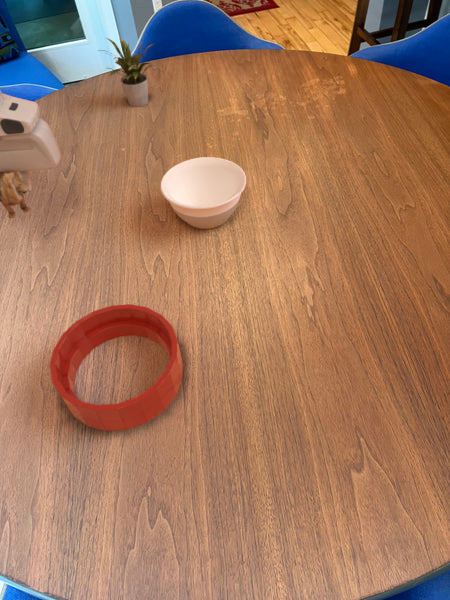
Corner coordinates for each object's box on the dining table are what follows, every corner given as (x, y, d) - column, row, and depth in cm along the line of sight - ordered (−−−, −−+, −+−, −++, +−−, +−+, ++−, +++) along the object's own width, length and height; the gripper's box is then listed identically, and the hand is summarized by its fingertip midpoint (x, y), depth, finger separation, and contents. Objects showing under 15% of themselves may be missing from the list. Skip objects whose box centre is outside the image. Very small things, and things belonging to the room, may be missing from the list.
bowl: (208, 256, 87) (203, 219, 81) (150, 221, 95) (142, 185, 88) (264, 212, 94) (264, 175, 88) (206, 183, 102) (202, 147, 96)
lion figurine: (44, 219, 83) (25, 175, 76) (14, 230, 81) (-8, 186, 74) (20, 178, 91) (1, 135, 84) (-8, 188, 89) (-29, 144, 83)
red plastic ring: (54, 437, 66) (37, 414, 61) (75, 334, 77) (62, 308, 72) (182, 428, 65) (175, 405, 60) (184, 326, 77) (178, 300, 72)
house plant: (96, 107, 128) (78, 42, 116) (131, 85, 135) (118, 22, 123) (136, 120, 122) (121, 53, 110) (170, 96, 129) (160, 31, 117)
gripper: (-97, 130, 72) (-53, 204, 82) (39, 122, 72) (65, 197, 82) (-81, 109, 76) (-41, 183, 87) (47, 102, 76) (71, 176, 87)
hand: (11, 190), depth 84 cm, fingers closed on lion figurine, 4 cm apart
